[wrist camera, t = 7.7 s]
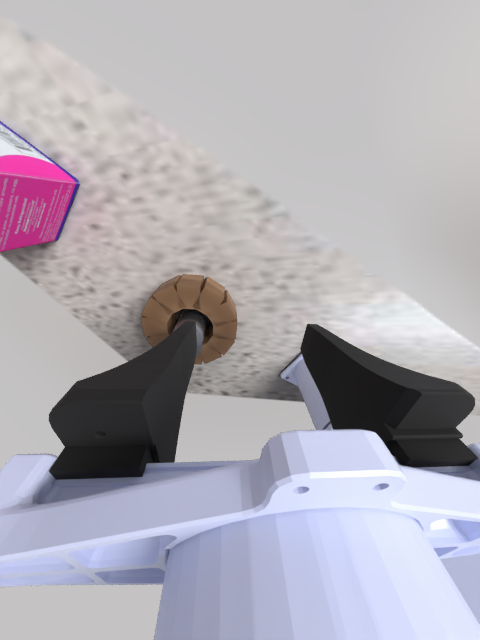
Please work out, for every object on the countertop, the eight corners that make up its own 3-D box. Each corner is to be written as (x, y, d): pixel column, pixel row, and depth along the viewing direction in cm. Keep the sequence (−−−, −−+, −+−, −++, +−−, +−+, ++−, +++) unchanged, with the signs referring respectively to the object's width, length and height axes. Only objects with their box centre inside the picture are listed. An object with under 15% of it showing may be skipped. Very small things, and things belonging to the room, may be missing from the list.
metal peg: (212, 311, 21) (207, 344, 16) (199, 328, 22) (191, 364, 17) (189, 297, 20) (176, 328, 15) (177, 317, 22) (161, 351, 16)
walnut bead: (251, 304, 21) (254, 317, 19) (209, 357, 25) (207, 375, 22) (175, 256, 18) (166, 264, 16) (139, 325, 22) (127, 340, 19)
